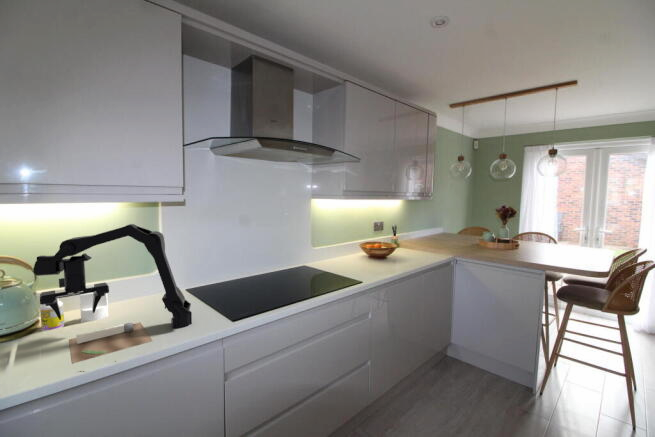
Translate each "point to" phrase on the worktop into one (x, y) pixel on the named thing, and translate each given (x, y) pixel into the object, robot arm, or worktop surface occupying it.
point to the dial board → (108, 344)
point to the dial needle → (104, 332)
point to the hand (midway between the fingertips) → (77, 316)
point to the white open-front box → (87, 305)
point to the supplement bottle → (51, 317)
